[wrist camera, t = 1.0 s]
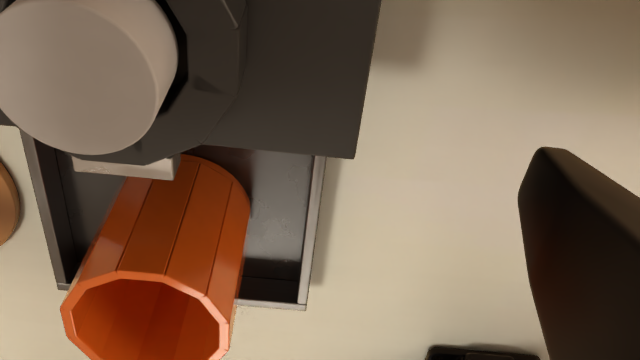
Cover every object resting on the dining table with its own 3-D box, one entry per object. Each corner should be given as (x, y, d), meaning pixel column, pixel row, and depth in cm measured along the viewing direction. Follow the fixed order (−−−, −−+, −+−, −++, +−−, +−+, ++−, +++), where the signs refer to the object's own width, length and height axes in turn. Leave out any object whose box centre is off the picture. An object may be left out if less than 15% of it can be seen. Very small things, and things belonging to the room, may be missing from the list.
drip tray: (307, 282, 30) (305, 311, 29) (71, 262, 30) (57, 290, 28) (334, 73, 23) (334, 96, 22) (24, 40, 23) (2, 62, 21)
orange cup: (249, 259, 29) (228, 385, 23) (126, 248, 29) (74, 373, 23) (253, 160, 25) (230, 280, 20) (112, 146, 25) (48, 264, 19)
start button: (182, 116, 15) (163, 163, 13) (38, 102, 15) (1, 147, 13) (175, -26, 13) (152, 10, 11) (7, -44, 13) (-42, -12, 11)
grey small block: (187, 144, 18) (173, 181, 17) (95, 135, 18) (73, 171, 17) (186, 122, 18) (172, 158, 16) (92, 113, 18) (69, 148, 16)
